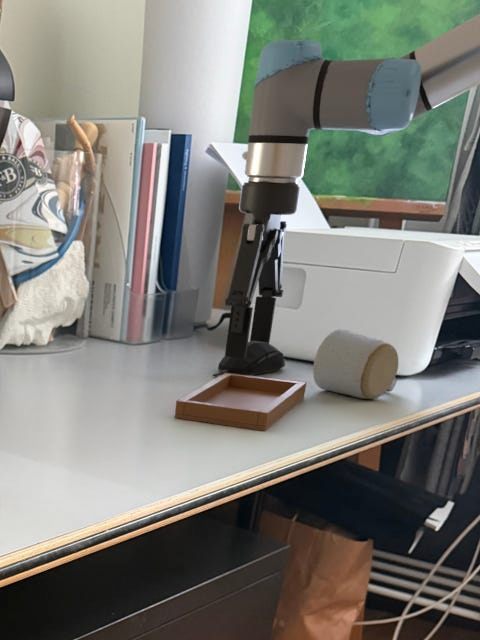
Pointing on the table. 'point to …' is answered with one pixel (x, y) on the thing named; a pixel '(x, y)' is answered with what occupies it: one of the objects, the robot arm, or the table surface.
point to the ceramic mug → (355, 365)
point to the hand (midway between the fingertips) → (247, 350)
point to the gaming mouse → (253, 360)
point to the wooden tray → (241, 401)
